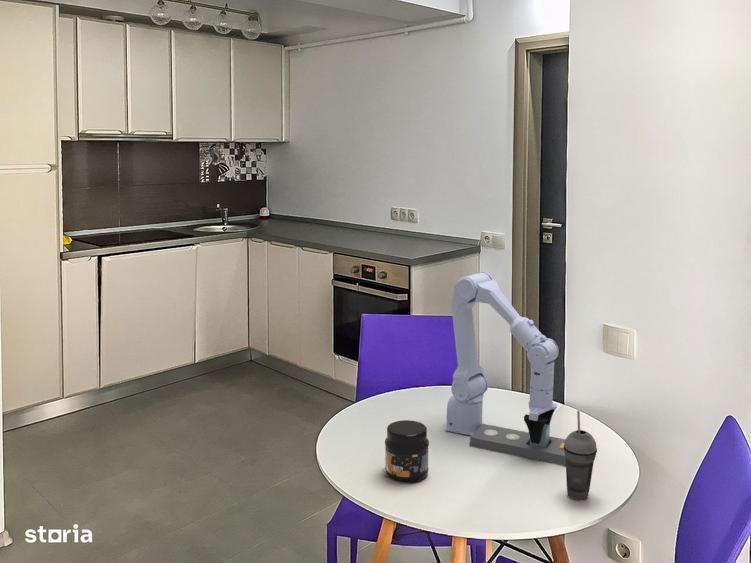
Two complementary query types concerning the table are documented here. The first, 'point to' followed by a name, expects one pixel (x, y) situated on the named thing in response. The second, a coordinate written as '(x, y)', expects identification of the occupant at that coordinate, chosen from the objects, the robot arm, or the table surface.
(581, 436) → the beverage cup
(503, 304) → the robot arm
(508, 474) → the table surface
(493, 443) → the control panel
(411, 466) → the supplement container
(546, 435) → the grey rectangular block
